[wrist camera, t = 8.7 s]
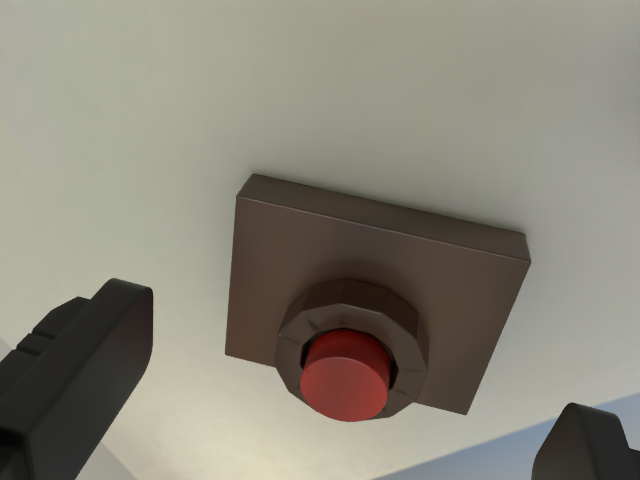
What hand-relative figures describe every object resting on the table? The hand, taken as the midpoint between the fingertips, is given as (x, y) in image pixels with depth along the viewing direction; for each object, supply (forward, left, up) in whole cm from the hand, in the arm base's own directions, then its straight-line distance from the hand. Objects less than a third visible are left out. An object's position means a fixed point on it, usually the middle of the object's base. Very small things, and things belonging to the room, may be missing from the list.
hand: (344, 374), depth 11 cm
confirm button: (0, +9, -10) cm, 14 cm away
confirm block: (0, +8, -14) cm, 16 cm away
